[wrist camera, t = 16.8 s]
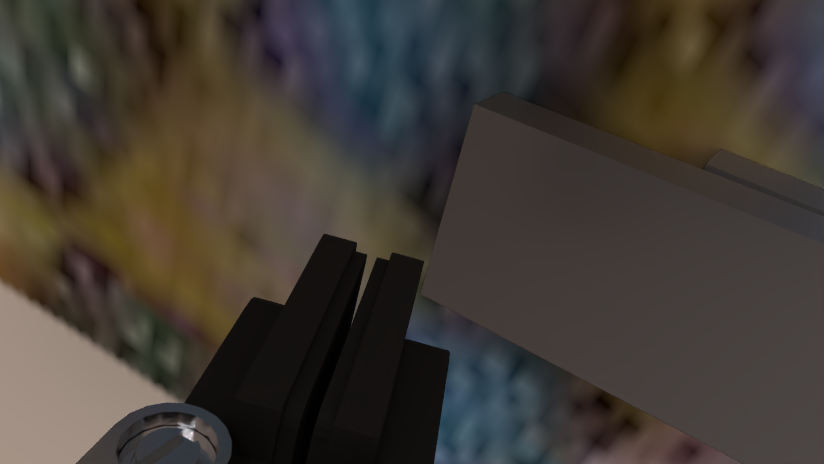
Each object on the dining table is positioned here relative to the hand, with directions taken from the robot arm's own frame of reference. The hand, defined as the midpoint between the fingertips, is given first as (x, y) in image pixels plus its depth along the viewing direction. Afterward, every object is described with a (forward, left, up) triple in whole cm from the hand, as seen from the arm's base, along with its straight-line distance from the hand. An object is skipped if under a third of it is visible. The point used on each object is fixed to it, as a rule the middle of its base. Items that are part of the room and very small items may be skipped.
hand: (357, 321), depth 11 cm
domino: (+1, 0, -6) cm, 6 cm away
